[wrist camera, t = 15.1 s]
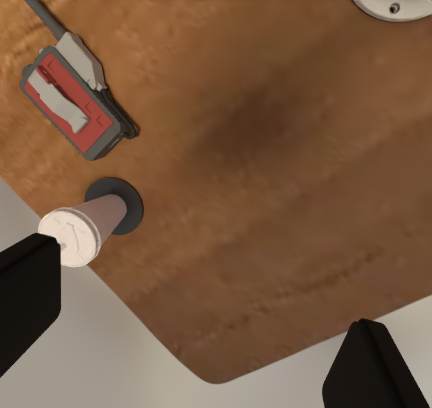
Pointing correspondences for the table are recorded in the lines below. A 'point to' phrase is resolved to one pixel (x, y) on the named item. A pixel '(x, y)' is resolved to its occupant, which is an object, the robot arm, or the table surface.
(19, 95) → the table surface
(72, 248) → the smoothie
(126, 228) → the coaster
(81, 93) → the walkie-talkie
